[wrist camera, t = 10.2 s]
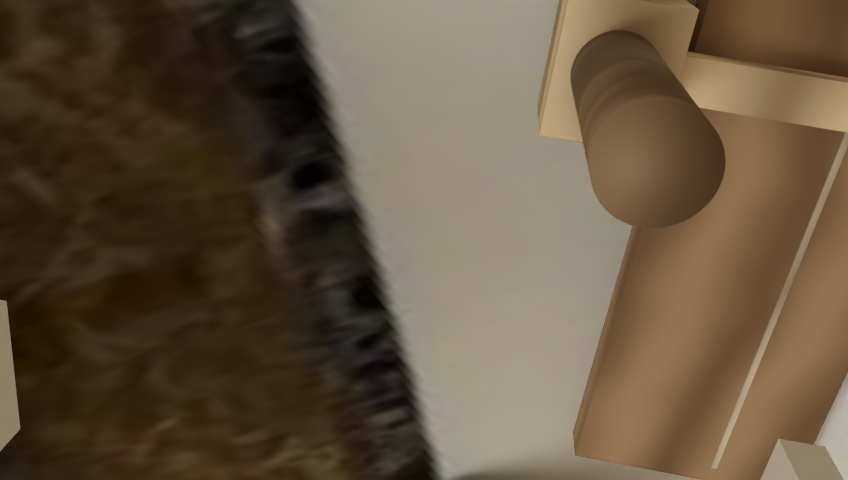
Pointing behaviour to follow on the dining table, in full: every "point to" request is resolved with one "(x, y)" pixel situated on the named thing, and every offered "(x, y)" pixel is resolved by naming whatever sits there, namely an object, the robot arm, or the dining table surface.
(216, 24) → the dining table surface
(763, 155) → the board
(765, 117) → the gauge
